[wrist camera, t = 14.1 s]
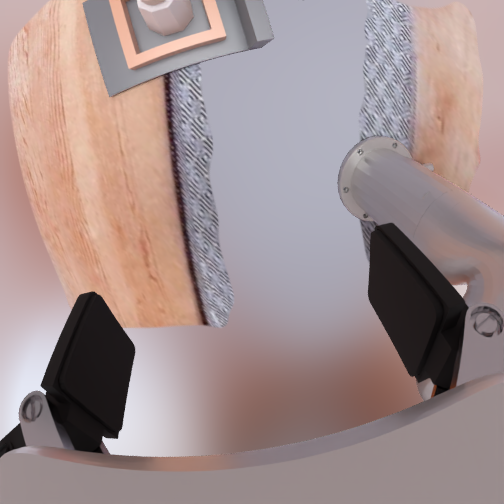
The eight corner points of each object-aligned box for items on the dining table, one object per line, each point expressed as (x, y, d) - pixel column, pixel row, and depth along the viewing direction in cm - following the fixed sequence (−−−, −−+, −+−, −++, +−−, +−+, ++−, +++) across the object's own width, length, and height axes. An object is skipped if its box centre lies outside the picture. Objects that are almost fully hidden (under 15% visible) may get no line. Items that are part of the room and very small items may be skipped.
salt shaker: (204, 18, 23) (200, -13, 14) (162, 45, 24) (138, 26, 15) (177, -13, 20) (163, -51, 11) (136, 14, 21) (104, -12, 12)
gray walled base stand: (231, -46, 19) (236, -71, 13) (261, 47, 26) (274, 38, 21) (85, 4, 19) (60, -8, 13) (112, 96, 27) (89, 100, 21)
